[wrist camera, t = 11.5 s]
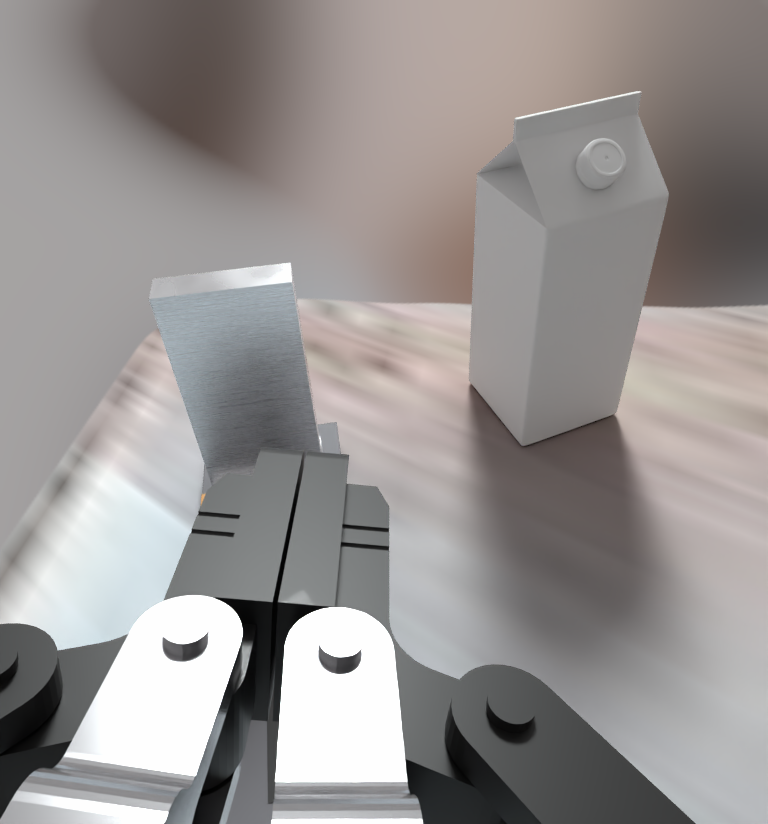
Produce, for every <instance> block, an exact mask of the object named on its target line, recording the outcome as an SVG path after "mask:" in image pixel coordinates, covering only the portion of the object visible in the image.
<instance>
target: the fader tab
mask: <svg viewBox="0 0 768 824" xmlns="http://www.w3.org/2000/svg"><path fill="white" fill-rule="evenodd" d="M149 301H150V304H151V307H152V310H153V313H154V316H155V319H156V322H157V325H158V328H159V331H160V334H161V337H162V340H163V343H164V345H165V348H166V351H167V354H168V357H169V360H170V363H171V366H172V369H173V372H174V375H175V378H176V381H177V384H178V387H179V390H180V393H181V395H182V398H183V401H184V404H185V407H186V410H187V413H188V416H189V419H190V422H191V425H192V428H193V431H194V434H195V437H196V440H197V443H198V446H199V448H200V451H201V454H202V457H203V460H204V463H205V466H206V469H207V472H208V475H209V478H210V481H211V484H212V485H214V484H215V483H216V482H217V481H218V480H219V479H220V478H222V477H223V476H224V475H225V474H226V473H234V474H244V475H253V472H254V468H255V465H256V462H257V459H258V455H259V452H260V449H261V447H270V448H280V449H290V450H301V451H304V465H305V460H306V455H307V451H313V452H323V449H322V443H321V437H320V436H319V431H318V425H317V419H316V413H315V407H314V401H313V395H312V389H311V383H310V377H309V371H308V365H307V359H306V353H305V347H304V341H303V335H302V329H301V323H300V317H299V311H298V305H297V299H296V293H295V287H294V281H293V275H292V269H291V263H283V264H275V265H266V266H258V267H250V268H240V269H233V270H224V271H215V272H207V273H198V274H190V275H181V276H173V277H165V278H156V279H153V281H152V286H151V291H150V295H149Z"/></svg>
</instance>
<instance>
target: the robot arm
mask: <svg viewBox="0 0 768 824" xmlns="http://www.w3.org/2000/svg"><path fill="white" fill-rule="evenodd" d="M348 460H349V455H345V454H334V453H324V452H313V451H307V455H306V460H305V465H304V451H301V450H290V449H280V448H270V447H261V449H260V452H259V455H258V459H257V462H256V465H255V468H254V472H253V475H244V474H234V473H226V474H225V475H224V476H223V477H222V478H220V479H219V480H218V481H217V482H216V483H215V484H214V485H212V486H211V487H210V488H209V489H208V490H207V492H206V494H205V497H204V499H203V502H202V504H201V507H200V510H199V514H198V516H197V517H196V520H195V522H194V525H193V527H192V532H191V533H190V535H189V537H188V540H187V543H186V545H185V548H184V550H183V553H182V555H181V558H180V560H179V563H178V565H177V568H176V571H175V573H174V576H173V578H172V581H171V583H170V586H169V588H168V591H167V593H166V596H165V598H164V601H163V602H161V603H159V604H157V605H155V606H153V607H152V608H150V609H149V610H147V611H146V612H145V613H144V614H142V615H141V617H140V618H139V619H138V620H137V621H136V622H135V624H134V626H133V627H132V629H131V631H130V633H129V634H127V635H125V636H122V637H120V638H117V639H114V640H111V641H107V642H103V643H99V644H93V645H87V646H82V647H76V648H70V649H65V650H59V651H57V647H56V645H55V642H54V641H53V639H52V638H51V637H50V635H48V634H47V633H46V632H44V631H43V630H41V629H39V628H37V627H34V626H30V625H26V624H18V623H16V624H0V824H226V822H227V819H228V815H229V811H230V808H231V804H232V801H233V797H234V794H235V790H236V787H237V783H238V779H239V775H240V770H241V760H242V758H243V755H244V751H245V747H246V742H247V737H248V732H249V727H250V722H251V720H258V721H268V717H269V711H270V705H271V700H272V694H273V688H274V699H273V721H275V722H280V726H279V740H278V754H277V768H276V781H275V794H274V801H273V813H272V824H695V823H694V822H693V821H692V820H691V819H690V818H689V817H688V816H687V815H686V814H685V813H684V812H682V811H681V810H680V809H679V808H678V807H677V806H676V805H675V804H674V803H673V802H672V801H671V800H670V799H668V798H667V797H666V796H665V795H664V794H663V793H662V792H661V791H660V790H659V789H658V788H657V787H656V786H654V785H653V784H652V783H651V782H650V781H649V780H648V779H647V778H646V777H645V776H644V775H643V774H642V773H640V772H639V771H638V770H637V769H636V768H635V767H634V766H633V765H632V764H631V763H630V762H629V761H628V760H626V759H625V758H624V757H623V756H622V755H621V754H620V753H619V752H618V751H617V750H616V749H615V748H614V747H612V746H611V745H610V744H609V743H608V742H607V741H606V740H605V739H604V738H603V737H602V736H601V735H600V734H598V733H597V732H596V731H595V730H594V729H593V728H592V727H591V726H590V725H589V724H588V723H587V722H586V721H584V720H583V719H582V718H581V717H580V716H579V715H578V714H577V713H576V712H575V711H574V710H573V709H571V708H570V707H569V706H568V705H567V704H566V703H565V702H564V701H563V700H562V699H561V698H560V697H559V696H557V695H556V694H555V693H554V692H553V691H552V690H551V689H550V688H549V687H548V686H547V685H545V684H544V683H543V682H542V681H541V680H539V679H538V678H536V677H535V676H533V675H531V674H530V673H527V672H525V671H523V670H521V669H518V668H515V667H511V666H505V665H486V666H481V667H478V668H475V669H473V670H471V671H469V672H468V673H466V674H465V675H464V676H463V677H462V678H461V679H460V680H459V679H456V678H453V677H451V676H448V675H445V674H443V673H440V672H437V671H434V670H432V669H430V668H428V667H425V666H423V665H422V664H420V663H418V662H417V661H415V660H414V659H412V658H411V657H410V656H409V655H407V654H406V653H405V652H404V650H403V649H402V648H401V647H400V646H399V644H398V643H397V642H396V640H395V638H394V636H393V634H392V631H391V628H390V623H389V506H388V504H387V502H386V501H385V499H384V498H383V496H382V494H381V493H380V491H379V489H378V488H377V487H375V486H364V485H353V484H346V482H347V471H348Z"/></svg>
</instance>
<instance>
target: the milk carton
mask: <svg viewBox="0 0 768 824" xmlns="http://www.w3.org/2000/svg"><path fill="white" fill-rule="evenodd" d="M640 98H641V92H640V91H637V92H632V93H627V94H622V95H618V96H613V97H609V98H604V99H600V100H595V101H590V102H586V103H581V104H577V105H573V106H567V107H563V108H559V109H554V110H549V111H545V112H540V113H535V114H531V115H526V116H522V117H517V118H515V121H514V134H513V142H511V143H510V144H509V145H508V146H507V147H506V148H505V149H504V150H503V151H502V152H500V153H499V154H498V155H497V156H496V157H495V158H494V159H493V160H492V161H490V162H489V163H488V164H487V165H486V166H485V167H484V168H483V169H481V171H479V172H478V173H477V191H476V215H475V216H476V217H475V241H474V265H473V289H472V314H471V338H470V363H469V381H470V382H471V384H472V385H473V386H474V387H475V389H476V390H477V391H478V392H479V394H480V395H481V396H482V397H483V398H484V400H485V401H486V402H487V403H488V405H489V406H490V407H491V408H492V410H493V411H494V412H495V413H496V415H497V416H498V417H499V418H500V420H501V421H502V422H503V423H504V424H505V426H506V427H507V428H508V429H509V431H510V432H511V433H512V434H513V436H514V437H515V438H516V439H517V441H518V442H519V443H520V444H521V445H522V446H526V445H529V444H532V443H535V442H538V441H540V440H543V439H546V438H549V437H552V436H554V435H557V434H560V433H563V432H566V431H568V430H571V429H574V428H577V427H580V426H582V425H585V424H588V423H591V422H594V421H597V420H599V419H602V418H605V417H608V416H610V415H613V414H615V413H616V412H617V408H618V404H619V400H620V396H621V392H622V388H623V384H624V380H625V375H626V371H627V367H628V363H629V359H630V355H631V351H632V347H633V343H634V338H635V334H636V330H637V326H638V322H639V318H640V314H641V310H642V305H643V301H644V297H645V293H646V289H647V285H648V281H649V276H650V273H651V268H652V264H653V260H654V256H655V252H656V248H657V244H658V240H659V235H660V231H661V227H662V223H663V218H664V215H665V210H666V206H667V202H668V197H669V193H668V190H667V188H666V185H665V183H664V180H663V177H662V175H661V172H660V170H659V167H658V165H657V162H656V159H655V157H654V154H653V152H652V149H651V147H650V144H649V142H648V139H647V136H646V134H645V131H644V129H643V126H642V124H641V121H640V119H639V116H638V109H639V103H640Z"/></svg>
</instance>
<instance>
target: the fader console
mask: <svg viewBox="0 0 768 824" xmlns="http://www.w3.org/2000/svg"><path fill="white" fill-rule="evenodd" d="M318 431H319V436H320V437H321V443H322V449H323V452H324V453H334V454H341V452H340V444H339V437H338V429H337V422H334V423H327V424H319V425H318ZM211 486H212V484H211V481H210V478H209V475H208V472H207V469H206V466H205V464H204V477H203V490H202V496H201V504H202V502H203V499H204V497H205V494H206V492H207V490H208V489H209V488H210V487H211ZM273 699H274V688H273V694H272V700H271V705H270V711H269V717H268V721H258V720H251V722H250V727H249V732H248V737H247V742H246V747H245V751H244V755H243V758H242V760H241V770H240V775H239V779H238V783H237V787H236V790H235V794H234V797H233V801H232V804H231V808H230V811H229V815H228V819H227V822H226V824H272V813H273V801H274V794H275V781H276V768H277V754H278V740H279V726H280V722H275V721H273Z"/></svg>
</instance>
